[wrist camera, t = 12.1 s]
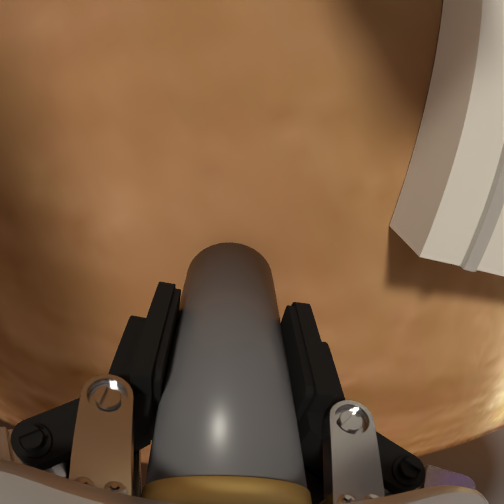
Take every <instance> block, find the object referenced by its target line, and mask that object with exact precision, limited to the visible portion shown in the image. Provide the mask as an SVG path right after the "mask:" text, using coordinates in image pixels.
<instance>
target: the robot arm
mask: <svg viewBox="0 0 504 504" xmlns="http://www.w3.org/2000/svg"><path fill="white" fill-rule="evenodd" d="M180 295H181V289H175V284H171V283H165V282H159V284H158V286H157V289H156V292H155V295H154V297H153V300H152V303H151V306H150V309H149V312H148V315H147V318H142V317H137V316H131V317H130V318H129V320H128V323H127V325H126V328H125V331H124V333H123V336H122V338H121V341H120V344H119V346H118V349H117V352H116V354H115V357H114V360H113V362H112V365H111V368H110V371H109V374H101V375H97V376H94V377H92V378H91V379H89V380H88V381H87V382H86V383H85V384H84V386H83V388H82V391H81V395H80V398H78V399H76V400H73V401H71V402H69V403H66V404H64V405H61V406H59V407H56V408H54V409H51V410H49V411H46V412H44V413H41V414H39V415H36V416H34V417H31V418H28V419H26V420H23V421H22V422H20V423H18V424H17V425H16V426H15V428H14V429H8V430H7V428H6V427H0V504H177V503H170V502H163V501H157V500H151V499H146V498H141V496H142V493H141V449H142V448H144V447H146V446H147V445H149V444H150V442H151V440H152V439H153V433H154V427H155V421H156V416H157V410H158V405H159V403H160V400H161V394H162V389H163V384H164V379H165V374H166V369H167V364H168V359H169V354H170V349H171V345H172V340H173V335H174V331H175V326H176V322H177V317H178V313H179V306H180ZM281 329H282V335H283V341H284V346H285V352H286V358H287V364H288V370H289V376H290V382H291V388H292V394H293V400H294V406H295V413H296V419H297V425H298V431H299V437H300V444H301V450H302V457H303V463H304V469H305V476H306V483H307V489H308V490H309V491H310V494H311V500H312V504H489V503H488V502H487V500H486V499H485V497H484V496H483V495H482V494H481V493H479V492H478V491H476V486H475V484H474V482H473V481H472V480H471V479H470V478H469V477H467V476H465V475H461V474H458V473H454V472H451V471H447V470H444V469H440V468H437V467H434V466H431V465H427V466H426V467H424V466H423V464H422V462H421V461H420V459H418V458H417V457H416V456H415V455H413V454H411V453H410V452H408V451H406V450H405V449H403V448H401V447H400V446H398V445H397V444H395V443H393V442H392V441H390V440H389V439H387V438H386V437H384V436H382V435H381V434H379V433H378V432H376V430H375V424H374V419H373V416H372V414H371V413H370V411H369V410H368V409H367V408H366V407H365V406H363V405H362V404H360V403H358V402H355V401H351V400H345V398H344V394H343V391H342V388H341V384H340V381H339V378H338V374H337V371H336V368H335V365H334V361H333V358H332V355H331V352H330V349H329V346H328V344H327V343H326V342H321V339H320V335H319V332H318V329H317V325H316V322H315V319H314V315H313V312H312V309H311V306H310V304H306V303H298V302H293V304H292V306H289V305H288V306H287V307H286V309H285V312H284V315H283V318H282V321H281Z"/></svg>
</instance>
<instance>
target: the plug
mask: <svg viewBox="0 0 504 504" xmlns="http://www.w3.org/2000/svg"><path fill="white" fill-rule="evenodd" d="M141 498H146V499H151V500H157V501H163V502H170V503H177V504H312V500H311V494H310V491H309V490H308V489H307V483H306V476H305V469H304V463H303V457H302V450H301V444H300V437H299V431H298V425H297V419H296V413H295V406H294V400H293V394H292V388H291V382H290V376H289V370H288V364H287V358H286V352H285V346H284V341H283V335H282V329H281V323H280V317H279V312H278V306H277V300H276V295H275V289H274V283H273V278H272V273H271V269H270V267H269V264H268V263H267V261H266V260H265V259H264V257H263V256H262V255H261V254H260V253H258V252H257V251H256V250H254V249H252V248H250V247H248V246H245V245H242V244H238V243H220V244H216V245H212V246H210V247H208V248H206V249H204V250H202V251H201V252H200V253H199V254H198V255H197V256H195V258H194V259H193V260H192V262H191V264H190V266H189V268H188V272H187V276H186V280H185V284H184V288H183V292H182V297H181V301H180V306H179V313H178V317H177V322H176V326H175V331H174V335H173V340H172V345H171V349H170V354H169V359H168V364H167V369H166V374H165V379H164V384H163V389H162V394H161V400H160V403H159V405H158V410H157V416H156V421H155V427H154V433H153V439H152V445H151V451H150V457H149V464H148V470H147V477H146V484H145V486H144V487H143V489H142V496H141Z"/></svg>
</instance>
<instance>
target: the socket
mask: <svg viewBox="0 0 504 504" xmlns="http://www.w3.org/2000/svg"><path fill="white" fill-rule="evenodd" d="M389 226H390V227H391V228H392V229H393V230H394V231H395V232H396V233H397V234H398V235H399V236H400V237H401V238H402V239H403V240H404V241H405V242H406V243H407V244H408V245H409V247H410V248H411V249H412V250H413V251H414V252H415V253H416V254H417V255H418V256H419V257H422V258H426V259H431V260H435V261H440V262H444V263H449V264H453V265H457V266H460V267H461V268H462V269H463V270H467V271H472V272H476V270H479V271H483V272H487V273H492V274H496V275H500V276H504V0H443V9H442V17H441V24H440V31H439V38H438V44H437V50H436V56H435V61H434V67H433V72H432V77H431V82H430V87H429V91H428V96H427V100H426V104H425V109H424V113H423V117H422V121H421V125H420V129H419V132H418V136H417V140H416V144H415V147H414V151H413V154H412V158H411V161H410V164H409V168H408V171H407V174H406V177H405V181H404V184H403V187H402V190H401V193H400V196H399V199H398V202H397V205H396V208H395V211H394V214H393V217H392V219H391V222H390V225H389Z"/></svg>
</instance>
